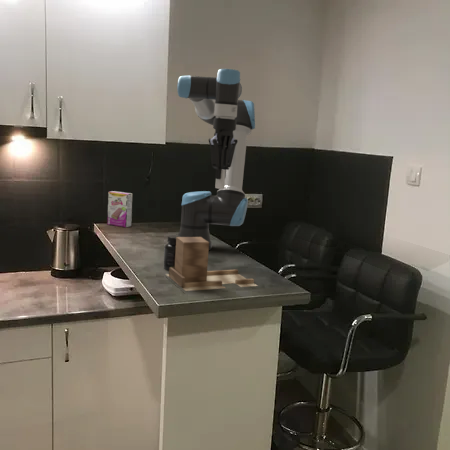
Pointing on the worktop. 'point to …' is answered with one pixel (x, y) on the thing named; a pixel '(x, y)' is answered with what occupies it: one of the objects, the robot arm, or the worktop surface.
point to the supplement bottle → (170, 252)
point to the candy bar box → (119, 209)
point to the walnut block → (192, 258)
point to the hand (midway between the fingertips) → (219, 188)
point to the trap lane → (211, 280)
